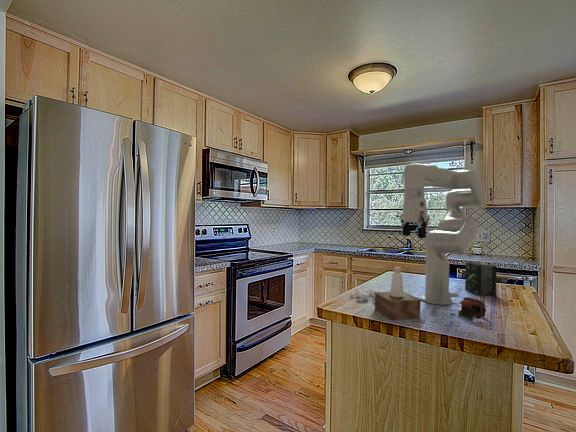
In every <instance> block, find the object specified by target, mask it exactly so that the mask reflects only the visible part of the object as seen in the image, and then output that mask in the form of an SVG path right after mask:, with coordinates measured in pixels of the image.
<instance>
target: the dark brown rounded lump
mask: <svg viewBox="0 0 576 432" xmlns="http://www.w3.org/2000/svg"><path fill="white" fill-rule="evenodd" d="M459 304H461V306H460V307H461V309H460V310H458V311H457V317H460V318H462V317H463V318H464V319H468V320H470V321H473V319H474V317H475V319H478V320H479V319H482V318H484V317H486V312H487V309H486V308H487V307H486V303H484V302H483V301H481V300H479V299H476V298H474V297H464V298H463V300H461V301H460V302H459Z"/></svg>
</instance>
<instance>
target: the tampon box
mask: <svg viewBox="0 0 576 432" xmlns="http://www.w3.org/2000/svg"><path fill="white" fill-rule="evenodd" d="M464 283H465V285H464V286H465V289H464V290H465V291H467V292H469V293H472V294H475V295H477V296H479V295H480V296H497V265H493V264H490V263H485V262H477V261H476V262H474V261H473V262H468V261H467V262H466V261H465V282H464Z"/></svg>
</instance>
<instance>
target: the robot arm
mask: <svg viewBox="0 0 576 432" xmlns="http://www.w3.org/2000/svg"><path fill="white" fill-rule="evenodd" d="M402 175H403V177H402V178H403V182H404V185H403V187H404V189H403V191H404V192H403V193H404V194H403V196H404V197H403V205H402V213H401V215H400V216H399V217H400V222H401V225H402V236H403V237H409V236H411V223H415V224H417V226H418V228H417V239H423V243H424V252H425V281H424V283H425V284H424V286H425V287H424V295H422V296H421V297H420V299H421V301H423V302H424V303H428V304H431V305H438V306H450V305H452V304H453V300H452V298H457V297H458V296H459V295H458V293H457V292H452V291H449V289H450V260H449V258H448V256H447V255H446V254H451V255H453V254H454V255H462V254H465V253H466V252H467V250H468V249H469V247H470V246H471V244H472V242H473V240H474V239H475V237H476V236H477V234H478V233H477V231H478V225H477V222H476V221H475V220H474V219H473V218H472V217H471V218H470V217H467V216H466V214H465V212H464V211H463V210H462V209H461V208H471V207H472V208H477V207H481V206H483V205H484V204H485V203H486V201H487V196H486V195H487V194H486V191H485V189H484V187H483V184H482V181H481V179H480V177H479V176H478V175H479V174H477V172H476V171H475V170H472V169H466V170H451V169H448V168H445V167H444V168H443V167H438V166H437V165H435V164H430V163H429V164H422V163H409V164H405V166H404V169H403V173H402ZM425 187H431V188H440V189H441V188H443V189H446V190H447V189H448V190H450V191H448V192H447V194H446V196H445V209H446V213H445V215H444V216H443V217H442V219H441V220H440V221H439V223H438V224H437V226H436V230H430V231H428V232H427V227H428V225H429V222H430V218H431V217H430V216H429V215H428V207H427V200H426V198H425ZM460 207H461V208H460Z"/></svg>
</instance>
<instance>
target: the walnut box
mask: <svg viewBox="0 0 576 432" xmlns="http://www.w3.org/2000/svg"><path fill="white" fill-rule="evenodd" d="M403 292H404V297H393V296H390V291H379V292H374V294H375V299H374V311H376V312H378V313H380V314H381V315H382V316H384V317H386V319H390V320H391V321H396V320H411V319H421V303H422V300H421V298H419V297H416V296H414V295H412V294H410V293H407V292H405V291H403Z"/></svg>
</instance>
